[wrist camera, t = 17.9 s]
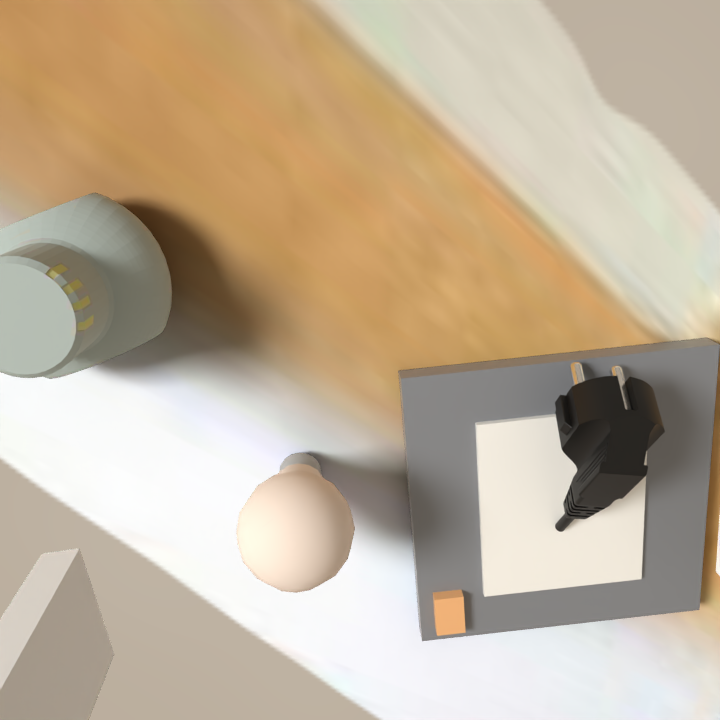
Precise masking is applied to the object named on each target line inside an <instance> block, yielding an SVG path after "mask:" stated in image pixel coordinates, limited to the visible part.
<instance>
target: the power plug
mask: <svg viewBox="0 0 720 720" xmlns="http://www.w3.org/2000/svg"><path fill="white" fill-rule="evenodd" d="M570 373H571V379H572V384H573V386H572V387H571V388H570V390H569V391H568V393H567V394H566V395H560V396H559V397H558V399H557V400H556V402H555V407H556V411H555V414H556V420H557V425H558V431H559V437H560V443H561V449H562V451H563V452H564V453H565V455H566V456H567V457H568V458H569V459H570V460H571V461H572V462H573V463H574V464H575V465H576V467H577V473H576V474H575V475H574V477H573V479H572V482H571V485H570V487H569V490H568V492H567V495H566V498H565V500H564V502H563V505H564V512H565V514H564V515H563V516H562V517H561V518H560V519H559V521H558V522H557V523H556V524H555V528H556V530H557V531H559V532H563V531H564V530H565V529H566V528H567V527H568V526H569V525H570V523H571V522H572V521H573V520H574V519H587V518H589V517H590V516H592V515H594V514H595V513H598V512H600V511H601V510H603V509H605V508H607V507H609V506H610V505H611V504H612V503H613V502H614V501H615V500H617V499H623V498H624V497H625V496H626V495H627V494H628V493H629V492H630V491H631V490H632V489H633V488H634V487H635V486H636V485H637V484H638V483H639V482H640V481H641V480H642V479H643V478H644V477H645V476H646V475H647V471H648V466H647V465H644V462H645V457H646V451H647V450H648V449H649V448H650V447H651V446H652V445H653V444H654V443H655V442H656V441H657V440H658V438H659V437H660V436H661V435H662V434H663V433H664V432H665V430H664V426H663V423H662V419H661V415H660V412H659V408H658V404H657V401H656V397H655V394H654V390H653V388H652V387H651V386H650V385H649V384H648V383H647V382H645V381H643V380H641V379H638V378H634V377H629V378H628V379H627V381H625V377H624V373H623V369H622V368H621V367H620V366H618V365H615V366H612V367H611V369H610V375H611V376H604V377H598V378H593V379H589V380H586V381H585V376H584V371H583V367H582V364H580V363H579V362H574V363H572V364H571V365H570Z"/></svg>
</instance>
